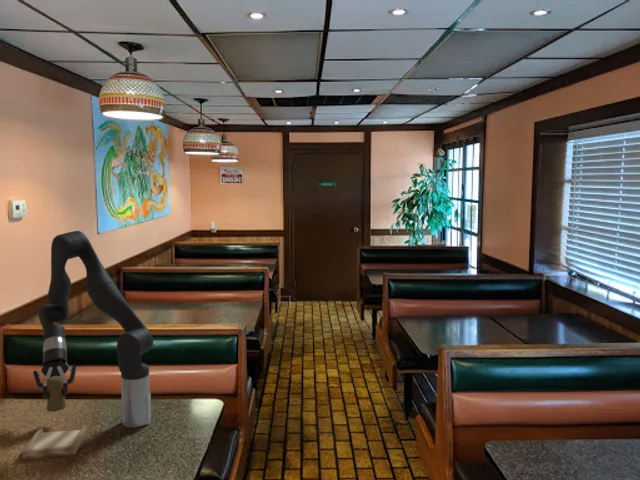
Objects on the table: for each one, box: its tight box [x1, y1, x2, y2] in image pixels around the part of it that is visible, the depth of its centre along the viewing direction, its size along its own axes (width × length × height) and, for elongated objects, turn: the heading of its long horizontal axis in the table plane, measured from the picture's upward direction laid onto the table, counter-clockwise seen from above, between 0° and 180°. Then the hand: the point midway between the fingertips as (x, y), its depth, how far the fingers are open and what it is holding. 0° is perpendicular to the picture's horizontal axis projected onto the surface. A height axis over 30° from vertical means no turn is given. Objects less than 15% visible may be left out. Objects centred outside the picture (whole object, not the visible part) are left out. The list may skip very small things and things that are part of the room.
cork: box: [46, 376, 67, 412], centre depth 171 cm, size 6×6×11 cm
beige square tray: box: [21, 424, 89, 461], centre depth 159 cm, size 15×15×2 cm
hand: (55, 396), depth 170 cm, fingers closed on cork, 4 cm apart
